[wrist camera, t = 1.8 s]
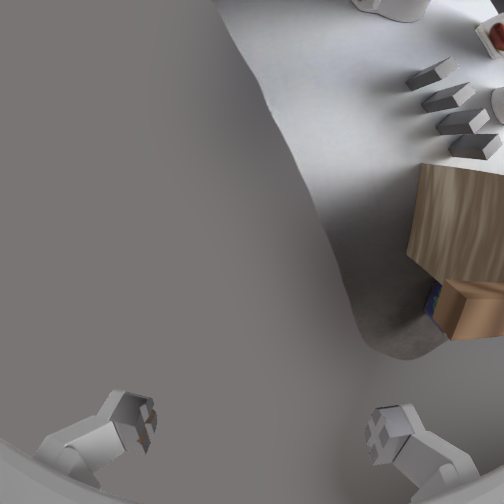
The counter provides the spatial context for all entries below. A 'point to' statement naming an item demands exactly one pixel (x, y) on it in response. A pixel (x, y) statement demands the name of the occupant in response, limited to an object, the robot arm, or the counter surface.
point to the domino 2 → (449, 98)
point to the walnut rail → (470, 309)
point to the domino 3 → (463, 122)
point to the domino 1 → (432, 74)
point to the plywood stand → (459, 224)
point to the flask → (433, 301)
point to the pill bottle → (498, 103)
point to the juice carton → (493, 36)
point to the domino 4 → (476, 146)
